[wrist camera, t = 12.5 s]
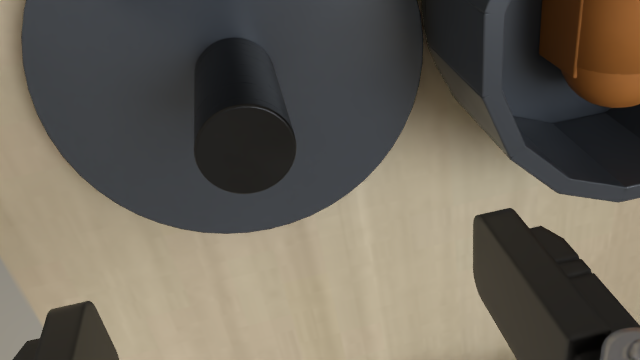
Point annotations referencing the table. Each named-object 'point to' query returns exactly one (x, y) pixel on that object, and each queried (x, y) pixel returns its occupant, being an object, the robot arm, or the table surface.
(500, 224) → the robot arm
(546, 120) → the pot
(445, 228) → the table surface
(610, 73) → the bread
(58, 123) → the lid
